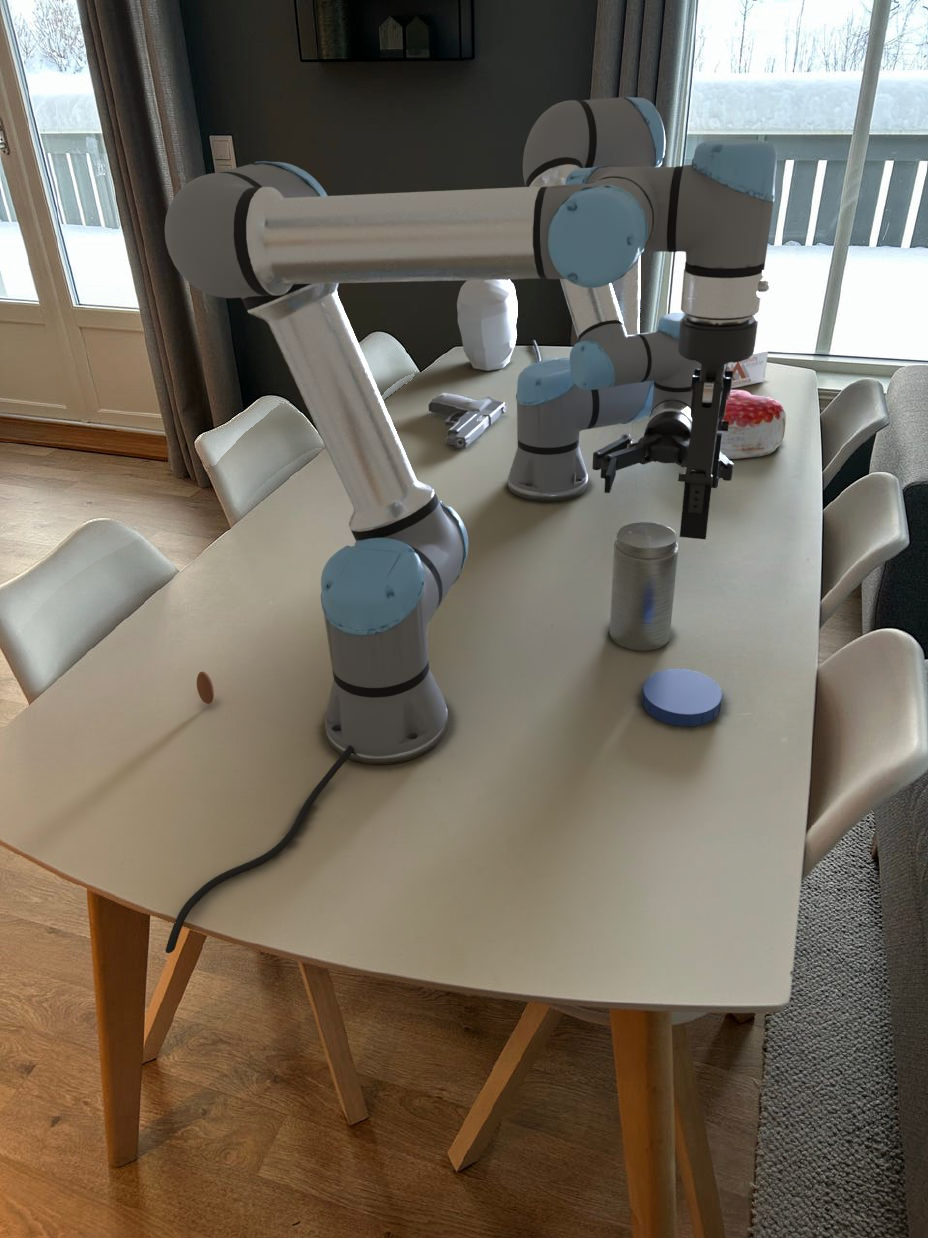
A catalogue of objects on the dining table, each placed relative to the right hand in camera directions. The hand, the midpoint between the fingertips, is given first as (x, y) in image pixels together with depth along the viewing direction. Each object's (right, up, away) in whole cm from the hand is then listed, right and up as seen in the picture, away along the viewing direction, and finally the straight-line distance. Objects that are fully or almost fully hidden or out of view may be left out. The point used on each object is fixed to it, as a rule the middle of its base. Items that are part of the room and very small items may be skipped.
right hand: (656, 488), depth 127 cm
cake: (+29, +20, +66) cm, 75 cm away
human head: (-20, +50, +119) cm, 131 cm away
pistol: (-29, +25, +79) cm, 87 cm away
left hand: (-1, -6, -25) cm, 26 cm away
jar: (-2, -20, +3) cm, 21 cm away
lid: (+1, -28, -12) cm, 30 cm away
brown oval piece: (-60, -30, -8) cm, 68 cm away
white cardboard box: (+36, +42, +101) cm, 115 cm away
